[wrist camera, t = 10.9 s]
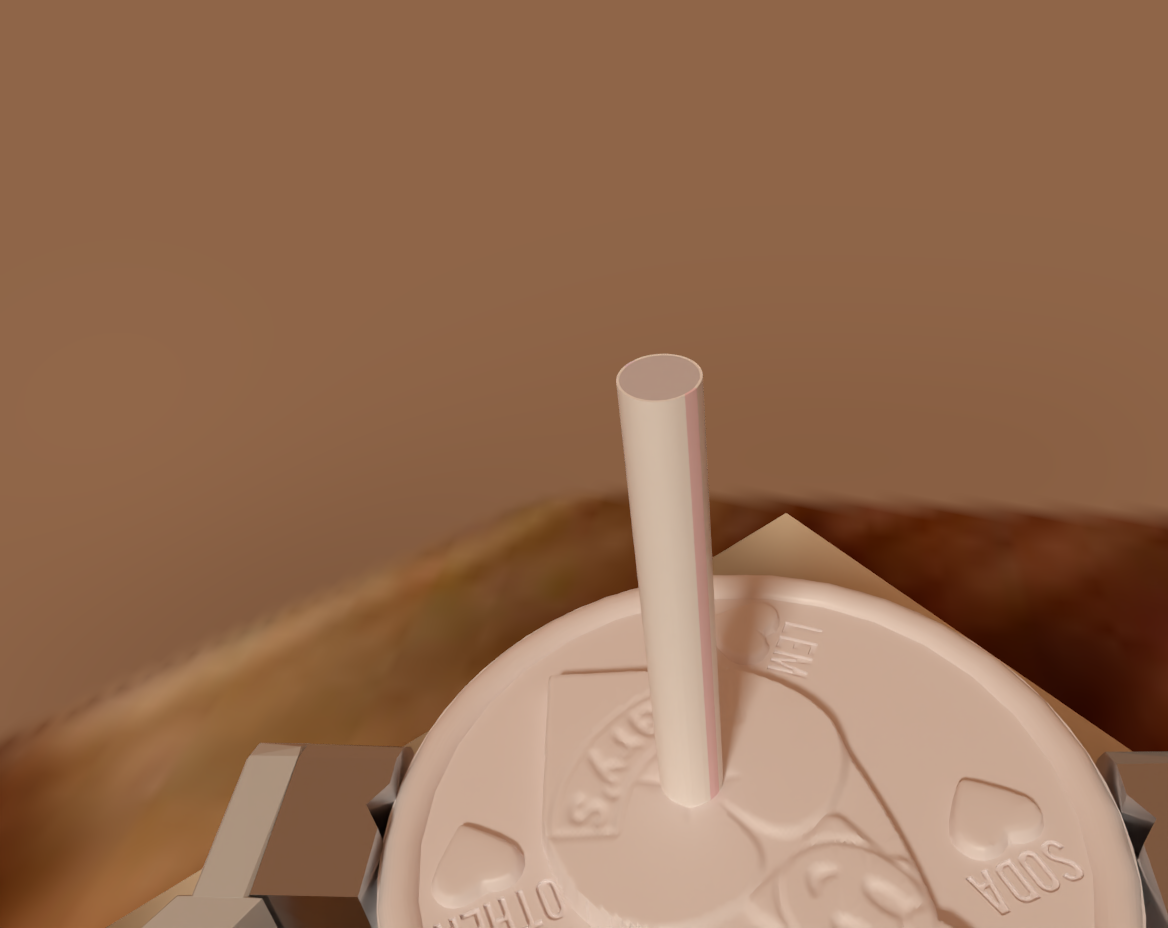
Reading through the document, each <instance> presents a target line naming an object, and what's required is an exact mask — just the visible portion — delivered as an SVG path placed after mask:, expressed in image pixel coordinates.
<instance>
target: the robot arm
mask: <svg viewBox="0 0 1168 928" xmlns="http://www.w3.org/2000/svg"><path fill="white" fill-rule="evenodd" d="M414 756H415V754H414V752H413V749H412V747H397V746H364V745H330V744H307V743H260V744H259V745H258V746H257V747H256V749H255V750H254V751H253V752H252V753H251V755H250V756H249V757H248V758H247V760H246V763H245V765H244V768H243V770H242V773H241V775H240V778H239V780H238V783H237V785H236V787H235V790H234V792H233V795H232V797H231V800H230V802H229V805H228V807H227V810H226V812H225V815H224V817H223V820H222V822H221V824H220V827H219V829H218V832H217V834H216V837H215V839H214V842H213V844H212V847H211V849H210V852H209V854H208V857H207V859H206V861H205V864H204V866H203V869H202V871H201V874H200V876H199V879H198V881H197V884H196V886H195V889H194V891H193V894H192V895H177V896H176V897H175V898H174V899H173V900H171V901H170V902H169V903H168V904H167V905H166V906H165V907H164V908H163V909H161V910H160V911H159V912H158V913H157V914H156V915H155V916H154V917H153V918H152V919H150V920H149V921H148V922H147V923H146V924H145V925H144V926H143V927H142V928H378V923H377V878H378V871H379V863H380V857H381V853H382V849H383V844H384V843H383V839H384V835H385V831H386V827H387V823H388V818H389V815H390V812H391V809H392V806H393V804H394V801H395V800H396V797H397V793H398V789H399V787H400V785H401V782H402V780H403V778H404V776H405V774H406V772H407V770H408V767H409V765H410V763H411V761H412V759H413V757H414ZM1096 767H1097V768H1098V770H1099V772H1100V773H1101V775H1102V777H1103V778H1104V780H1105V782H1106V783H1107V786H1108V788H1109V790H1110V792H1111V794H1112V796H1113V798H1114V800H1115V802H1116V804H1117V806H1118V809H1119V811H1120V813H1121V815H1122V818H1123V821H1124V823H1125V826H1126V829H1127V832H1128V835H1129V837H1130V840H1131V843H1132V846H1133V849H1134V853H1135V857H1136V861H1137V866H1138V870H1139V874H1140V878H1141V882H1142V890H1143V898H1144V906H1145V914H1146V928H1168V752H1104V753H1103V754H1102V755H1101V756H1100V757H1099V758H1098V759H1097V762H1096Z"/></svg>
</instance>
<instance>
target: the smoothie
mask: <svg viewBox="0 0 1168 928" xmlns="http://www.w3.org/2000/svg"><path fill="white" fill-rule="evenodd" d="M616 384H617V392H618V402H619V411H620V421H621V430H622V439H623V448H624V456H625V466H626V476H627V485H628V494H629V503H630V512H631V522H632V531H633V540H634V549H635V558H636V567H637V577H638V586H639V588H636V589H632V590H628V591H625V592H622V593H619V594H616V595H612V596H609V597H605V598H603V599H600V600H598V601H596V602H593V603H591V604H588V605H586V606H583V607H581V608H578V609H576V610H574V611H572V612H570V613H568V614H566V615H564V616H562V617H560V618H557V619H555V620H553V621H552V622H550V623H548V624H546V625H545V626H543V627H541V628H540V629H538V630H536V631H535V632H533V633H531V634H529V635H528V636H526V637H525V638H523V639H522V640H521V641H519V642H518V643H516V644H515V645H513V646H512V647H511V648H509V649H508V650H506V651H505V652H504V653H502V654H501V655H500V656H499V657H497V658H496V659H495V660H494V661H493V662H491V663H490V664H489V665H488V666H487V667H485V668H484V669H483V670H482V671H481V672H480V673H479V674H478V675H477V676H476V677H475V678H474V679H473V680H472V681H471V682H470V683H469V684H468V685H467V686H465V687H464V688H463V689H462V691H461V692H460V693H459V694H458V695H457V696H456V698H455V699H454V700H453V701H452V702H451V703H450V704H449V706H448V707H447V708H446V709H445V710H444V711H443V713H442V714H441V716H440V717H439V718H438V720H437V721H436V723H435V724H434V725H433V727H432V728H431V730H430V731H429V732H428V734H427V735H426V737H425V739H424V740H423V742H422V744H421V745H420V747H419V749H418V751H417V752H416V754H415V756H414V757H413V759H412V761H411V763H410V765H409V767H408V770H407V772H406V774H405V776H404V778H403V780H402V782H401V785H400V787H399V789H398V793H397V797H396V800H395V801H394V804H393V806H392V809H391V812H390V815H389V818H388V823H387V827H386V831H385V835H384V839H383V843H384V844H383V849H382V853H381V857H380V863H379V871H378V878H377V923H378V928H1146V914H1145V906H1144V898H1143V890H1142V882H1141V878H1140V874H1139V870H1138V866H1137V861H1136V857H1135V853H1134V849H1133V846H1132V843H1131V840H1130V837H1129V835H1128V832H1127V829H1126V826H1125V823H1124V821H1123V818H1122V815H1121V813H1120V811H1119V809H1118V806H1117V804H1116V802H1115V800H1114V798H1113V796H1112V794H1111V792H1110V790H1109V788H1108V786H1107V783H1106V782H1105V780H1104V778H1103V777H1102V775H1101V773H1100V772H1099V770H1098V768H1097V767H1096V765H1095V764H1094V762H1093V760H1092V759H1091V757H1090V755H1089V754H1088V752H1087V751H1086V750H1085V748H1084V747H1083V746H1082V744H1081V743H1080V741H1079V740H1078V739H1077V737H1076V736H1075V735H1074V733H1073V732H1072V731H1071V729H1070V728H1069V727H1068V725H1067V724H1066V723H1065V722H1064V721H1063V720H1062V719H1061V718H1060V716H1059V715H1058V714H1057V713H1056V712H1055V711H1054V710H1053V709H1052V707H1051V706H1050V705H1049V704H1048V703H1047V702H1046V701H1045V700H1044V699H1043V698H1042V697H1041V696H1040V695H1039V694H1038V693H1037V692H1036V691H1035V690H1034V689H1033V688H1032V687H1030V686H1029V685H1028V684H1027V683H1026V682H1025V681H1024V680H1023V679H1022V678H1021V677H1019V676H1018V675H1017V674H1016V673H1014V672H1013V671H1012V670H1011V669H1010V668H1008V667H1007V666H1006V665H1005V664H1003V663H1002V662H1001V661H1000V660H998V659H997V658H996V657H994V656H993V655H991V654H990V653H988V652H987V651H985V650H984V649H982V648H981V647H980V646H978V645H977V644H975V643H974V642H972V641H971V640H969V639H967V638H965V637H964V636H962V635H960V634H959V633H957V632H955V631H953V630H952V629H950V628H948V627H947V626H945V625H943V624H941V623H939V622H937V621H935V620H933V619H930V618H928V617H926V616H924V615H922V614H920V613H918V612H916V611H913V610H911V609H908V608H906V607H903V606H901V605H898V604H896V603H894V602H891V601H889V600H886V599H883V598H879V597H876V596H873V595H870V594H867V593H864V592H860V591H857V590H853V589H848V588H844V587H841V586H837V585H834V584H830V583H823V582H816V581H810V580H804V579H797V578H788V577H781V576H774V575H713V566H712V547H711V527H710V508H709V488H708V469H707V449H706V430H705V412H704V411H705V410H704V391H703V373H702V370H701V368H700V367H699V365H698V364H696V363H695V362H694V361H692V360H690V359H689V358H686V357H683V356H679V355H674V354H655V355H648V356H644V357H641V358H638V359H635V360H633V361H631V362H630V363H628V364H627V365H625V366H624V367H623V368H622V369H621V370H620V371H619V373H618V375H617V379H616Z"/></svg>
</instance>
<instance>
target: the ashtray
mask: <svg viewBox="0 0 1168 928" xmlns="http://www.w3.org/2000/svg"><path fill="white" fill-rule="evenodd" d="M712 566H713V575H774V576H781V577H788V578H797V579H804V580H810V581H816V582H823V583H830V584H834V585H837V586H841V587H844V588H848V589H853V590H857V591H860V592H864V593H867V594H870V595H873V596H876V597H879V598H883V599H886V600H889V601H891V602H894V603H896V604H898V605H901V606H903V607H906V608H908V609H911V610H913V611H916V612H918V613H920V614H922V615H924V616H926V617H928V618H930V619H933V620H935V621H937V622H939V623H941V624H943V625H945V626H947V627H948V628H950V629H952V630H953V631H955V632H957V633H959V634H960V635H962V636H964V635H963V634H961V633H960V632H958V631H957V630H955V629H954V628H952V627H951V626H950V625H948V624H947V623H945V622H944V621H942V620H941V619H939V618H938V617H937V616H935V615H934V614H932V613H931V612H929V611H928V610H926V609H925V608H923V607H922V606H921V605H919V604H918V603H916V602H915V601H913V600H912V599H910V598H909V597H907V596H906V595H905V594H903V593H902V592H900V591H899V590H897V589H896V588H894V587H893V586H891V585H890V584H889V583H887V582H886V581H884V580H883V579H881V578H880V577H878V576H877V575H876V574H874V573H873V572H871V571H870V570H868V569H867V568H865V567H864V566H862V565H861V564H860V563H858V562H857V561H855V560H854V559H852V558H851V557H849V556H848V555H846V554H845V553H844V552H842V551H841V550H839V549H838V548H836V547H835V546H833V545H832V544H831V543H829V542H828V541H826V540H825V539H823V538H822V537H820V536H819V535H817V534H816V533H815V532H813V531H812V530H810V529H809V528H807V527H806V526H804V525H803V524H801V523H800V522H799V521H797V520H796V519H794V518H793V517H791V516H790V515H788V514H787V513H786V514H784V515H782V516H781V517H779V518H777V519H776V520H774V521H772V522H771V523H769V524H767V525H766V526H764V527H763V528H761V529H759V530H758V531H756V532H754V533H753V534H751V535H749V536H748V537H746V538H744V539H743V540H741V541H740V542H738V543H736V544H735V545H733V546H731V547H730V548H728V549H726V550H725V551H723V552H722V553H720V554H718V555H717V556H715V557H713V558H712ZM964 637H965V638H967V637H966V636H964ZM967 639H968V638H967ZM969 640H970V639H969ZM972 642H973V641H972ZM975 644H976V643H975ZM978 646H979V645H978ZM981 648H982V647H981ZM982 649H983V648H982ZM985 651H986V650H985ZM988 653H989V652H988ZM991 655H992V654H991ZM994 657H995V656H994ZM997 659H998V658H997ZM998 660H999V659H998ZM1001 662H1002V661H1001ZM1002 663H1003V662H1002ZM1003 664H1005V663H1003ZM1005 665H1006V664H1005ZM1006 666H1007V667H1008V668H1010V669H1011V670H1012V671H1013V672H1014V673H1016V674H1017V675H1018V676H1019V677H1021V678H1022V679H1023V680H1024V681H1025V682H1026V683H1027V684H1028V685H1029V686H1030V687H1032V688H1033V689H1034V690H1035V691H1036V692H1037V693H1038V694H1039V695H1040V696H1041V697H1042V698H1043V699H1044V700H1045V701H1046V702H1047V703H1048V704H1049V705H1050V706H1051V707H1052V709H1053V710H1054V711H1055V712H1056V713H1057V714H1058V715H1059V716H1060V718H1061V719H1062V720H1063V721H1064V722H1065V723H1066V724H1067V725H1068V727H1069V728H1070V729H1071V731H1072V732H1073V733H1074V735H1075V736H1076V737H1077V739H1078V740H1079V741H1080V743H1081V744H1082V746H1083V747H1084V748H1085V750H1086V751H1087V752H1088V754H1089V755H1090V757H1091V759H1092V760H1093V762H1094V764H1095V765H1096V762H1097V759H1098V758H1099V757H1100V756H1101V755H1102V754H1103V753H1104V752H1133V751H1131V750H1130V749H1128V748H1127V747H1125V746H1124V745H1122V744H1121V743H1120V742H1118V741H1117V740H1115V739H1114V738H1112V737H1111V736H1109V735H1108V734H1106V733H1105V732H1104V731H1102V730H1101V729H1099V728H1098V727H1096V726H1095V725H1093V724H1092V723H1090V722H1089V721H1088V720H1086V719H1085V718H1083V717H1082V716H1080V715H1079V714H1077V713H1076V712H1074V711H1073V710H1072V709H1070V708H1069V707H1067V706H1066V705H1064V704H1063V703H1061V702H1060V701H1059V700H1057V699H1056V698H1054V697H1053V696H1051V695H1050V694H1048V693H1047V692H1045V691H1044V690H1043V689H1041V688H1040V687H1038V686H1037V685H1035V684H1034V683H1032V682H1031V681H1029V680H1028V679H1027V678H1025V677H1024V676H1022V675H1021V674H1019V673H1018V672H1016V671H1015V670H1013V669H1012V668H1011V667H1009V666H1008V665H1006ZM429 731H430V730H429ZM429 731H428V732H429ZM428 732H426V733H425V734H423V735H421V736H420V737H418V738H416V739H415V740H413V741H411V742H410V743H408V744H406V745H405V746H403V747H412V749H413V752H414V754H416V752H417V751H418V749H419V747H420V745H421V744H422V742H423V740H424V739H425V737H426V735H427V734H428ZM201 871H202V869H201V870H200V871H198V872H196V873H195V874H193V875H192V876H190V877H188V878H187V879H185V880H183V881H182V882H180V883H178V884H177V885H175V886H173V887H172V888H170V889H169V890H167V891H165V892H164V893H162V894H160V895H159V896H157V897H155V898H154V899H152V900H150V901H149V902H147V903H146V904H144V905H142V906H141V907H139V908H137V909H136V910H134V911H132V912H131V913H129V914H128V915H126V916H124V917H123V918H121V919H119V920H118V921H116V922H114V923H113V924H111V925H109V926H108V927H106V928H142V927H143V926H144V925H145V924H146V923H147V922H148V921H149V920H150V919H152V918H153V917H154V916H155V915H156V914H157V913H158V912H159V911H160V910H161V909H163V908H164V907H165V906H166V905H167V904H168V903H169V902H170V901H171V900H173V899H174V898H175V897H176V896H177V895H192V894H193V891H194V889H195V886H196V884H197V881H198V879H199V876H200V874H201Z"/></svg>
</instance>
